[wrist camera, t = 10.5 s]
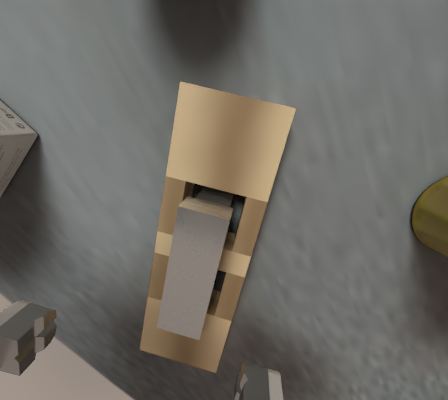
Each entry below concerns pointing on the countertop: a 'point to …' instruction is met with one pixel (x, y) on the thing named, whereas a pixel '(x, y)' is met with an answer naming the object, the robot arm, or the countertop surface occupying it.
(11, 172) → the skincare box
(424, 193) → the vase
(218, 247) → the grey concrete brick
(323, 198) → the countertop surface
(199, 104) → the flat wooden block
